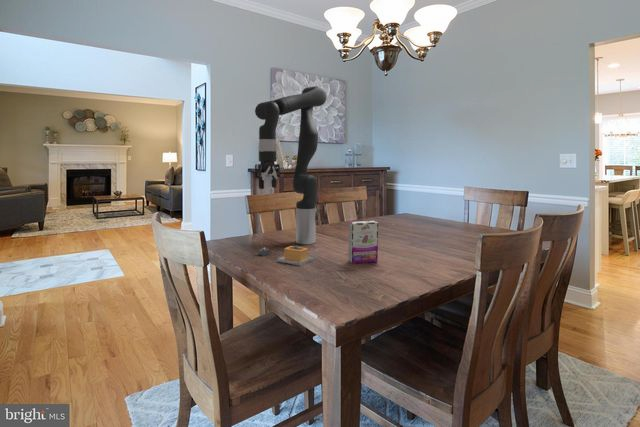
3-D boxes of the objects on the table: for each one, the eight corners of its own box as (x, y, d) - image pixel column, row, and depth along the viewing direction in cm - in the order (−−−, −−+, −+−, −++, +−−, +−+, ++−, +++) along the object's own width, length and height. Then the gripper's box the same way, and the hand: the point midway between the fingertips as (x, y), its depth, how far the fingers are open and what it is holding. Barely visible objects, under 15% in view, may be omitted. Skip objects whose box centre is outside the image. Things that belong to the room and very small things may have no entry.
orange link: (291, 255, 154) (291, 245, 154) (307, 258, 150) (307, 248, 150) (284, 257, 150) (284, 248, 150) (300, 260, 146) (300, 250, 146)
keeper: (292, 256, 157) (292, 241, 157) (314, 260, 152) (314, 245, 151) (277, 261, 149) (277, 246, 148) (300, 265, 143) (300, 250, 142)
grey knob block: (264, 252, 163) (264, 246, 162) (269, 253, 161) (269, 247, 161) (258, 254, 159) (258, 248, 159) (263, 255, 158) (263, 249, 157)
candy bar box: (372, 259, 155) (374, 220, 152) (377, 262, 150) (379, 222, 147) (347, 260, 152) (348, 221, 149) (351, 264, 147) (352, 223, 144)
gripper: (271, 150, 167) (271, 187, 169) (249, 150, 155) (250, 188, 157) (284, 150, 163) (284, 187, 165) (263, 149, 151) (264, 189, 153)
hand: (267, 188), depth 161 cm, fingers open, 8 cm apart
